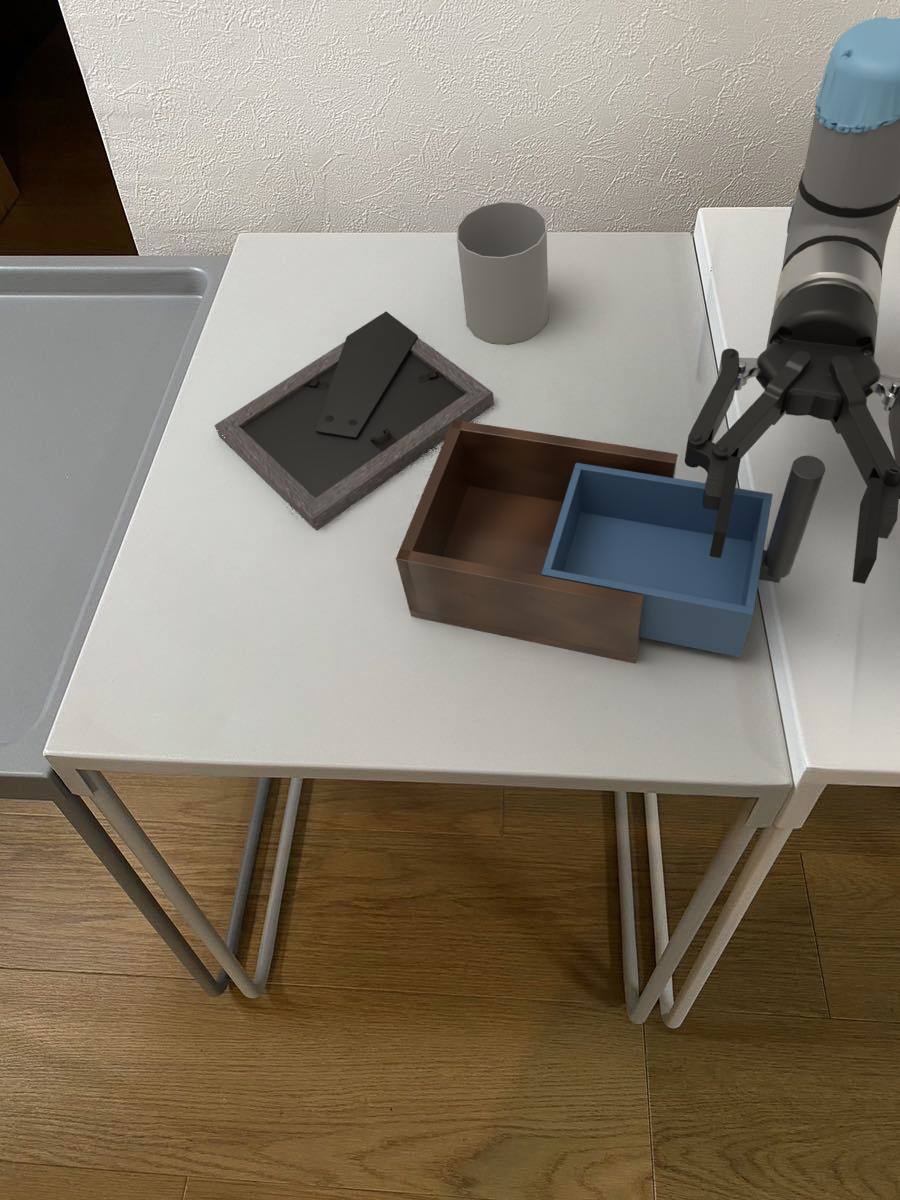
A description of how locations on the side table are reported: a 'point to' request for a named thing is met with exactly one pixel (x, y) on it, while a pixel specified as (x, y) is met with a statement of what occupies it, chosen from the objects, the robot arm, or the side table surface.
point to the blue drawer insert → (679, 548)
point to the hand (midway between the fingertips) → (789, 557)
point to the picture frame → (353, 418)
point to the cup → (504, 271)
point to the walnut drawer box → (514, 540)
